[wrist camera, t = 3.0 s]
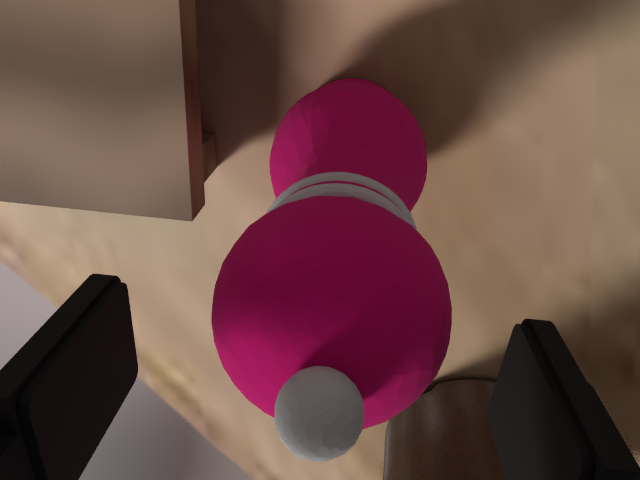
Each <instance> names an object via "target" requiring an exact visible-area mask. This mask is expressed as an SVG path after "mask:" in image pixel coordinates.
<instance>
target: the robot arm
mask: <svg viewBox="0 0 640 480" xmlns="http://www.w3.org/2000/svg"><path fill="white" fill-rule="evenodd" d="M137 373H138V363H137V356H136V348H135V341H134V333H133V326H132V318H131V311H130V304H129V296H128V289H127V285H126V284H125V283H122V282H121V281H120V279H119V277H117V276H112V275H102V274H92V275H90V276H89V277H88V278H87V279H86V280H85V281H84V283H83V284H82V285H81V286H80V287H79V288H78V289H77V290H76V291H75V292H74V293H73V294H72V295H71V296H70V297H69V298H68V299H67V300H66V302H65V303H64V304H63V305H62V306H61V307H60V308H59V309H58V310H57V311H56V312H55V313H54V314H53V315H52V316H51V317H50V318H49V319H48V320H47V322H46V323H45V324H44V325H43V326H42V327H41V328H40V329H39V330H38V331H37V332H36V333H35V334H34V335H33V336H32V337H31V338H30V339H29V341H28V342H27V343H26V344H25V345H24V346H23V347H22V348H21V349H20V350H19V351H18V352H17V353H16V354H15V355H14V356H13V357H12V359H10V361H9V362H8V363H7V364H6V365H5V366H4V367H3V368H2V369H1V370H0V480H78V479H79V477H80V476H81V474H82V472H83V471H84V469H85V467H86V465H87V464H88V462H89V460H90V459H91V457H92V455H93V453H94V452H95V450H96V448H97V446H98V445H99V443H100V441H101V439H102V438H103V436H104V434H105V433H106V431H107V429H108V427H109V426H110V424H111V422H112V420H113V419H114V417H115V415H116V414H117V412H118V410H119V408H120V407H121V405H122V403H123V401H124V399H125V398H126V396H127V395H128V393H129V391H130V389H131V388H132V386H133V384H134V382H135V380H136V377H137ZM488 422H489V426H490V429H491V432H492V436H493V439H494V443H495V446H496V449H497V453H498V456H499V460H500V463H501V466H502V470H503V473H504V477H505V480H640V467H639V466H638V464H637V462H636V461H635V459H634V457H633V455H632V454H631V452H630V450H629V448H628V447H627V445H626V443H625V442H624V440H623V438H622V436H621V435H620V433H619V431H618V430H617V428H616V426H615V424H614V423H613V421H612V419H611V418H610V416H609V414H608V412H607V411H606V409H605V407H604V406H603V404H602V402H601V400H600V399H599V397H598V395H597V393H596V392H595V390H594V389H593V387H592V386H591V385H590V384H589V383H587V381H586V379H585V378H584V376H583V374H582V372H581V371H580V369H579V367H578V365H577V364H576V362H575V360H574V358H573V357H572V355H571V353H570V351H569V350H568V348H567V346H566V345H565V343H564V341H563V339H562V338H561V336H560V334H559V332H558V331H557V329H556V327H555V325H554V324H553V323H552V322H550V321H544V320H534V319H525V320H524V321H523V322H522V324H516V325H515V326H514V328H513V331H512V334H511V337H510V340H509V343H508V346H507V349H506V352H505V355H504V359H503V362H502V365H501V368H500V371H499V374H498V377H497V380H496V383H495V386H494V389H493V392H492V396H491V399H490V402H489V405H488Z"/></svg>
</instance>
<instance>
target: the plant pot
mask: <svg viewBox="0 0 640 480" xmlns="http://www.w3.org/2000/svg"><path fill="white" fill-rule="evenodd" d="M495 383H496V381H490V380H483V379H461V380H452V381H446V382H442V383H438V384H437V385H436V386H435V387H434V388H433V389H432V390H430V391H429V392H426V393H423V394H422V395H421V396H420V397H419V398H418V399H417V400H416V401H415V402H413V403H412V404H411V405H410V406H409V407H408V408H406V409H405V410H403V411H402V412H400V413H399V414H397V415H395V416H394V417H392V418H391V419H390V420H389V423H388V426H387V429H386V436H385V454H384V473H383V480H505V477H504V473H503V470H502V466H501V463H500V460H499V456H498V453H497V449H496V446H495V443H494V439H493V436H492V432H491V429H490V426H489V422H488V405H489V402H490V399H491V396H492V392H493V389H494V386H495Z"/></svg>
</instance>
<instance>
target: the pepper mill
mask: <svg viewBox="0 0 640 480" xmlns="http://www.w3.org/2000/svg"><path fill="white" fill-rule="evenodd" d="M426 174H427V155H426V145H425V141H424V136H423V133H422V131H421V129H420V126H419V124H418V122H417V120H416V119H415V117H414V116H413V115H412V113H411V112H410V111H409V109H408V108H407V107H406V106H405V105H404V104H403V103H402V102H401V101H400V100H398V99H397V98H396V97H394V96H393V95H392V94H391V93H390V92H389V91H387V90H386V89H385V88H383V87H381V86H380V85H378V84H376V83H373V82H371V81H368V80H363V79H356V78H351V79H340V80H336V81H333V82H330V83H328V84H326V85H324V86H322V87H320V88H319V89H317V90H315V91H313V92H311V93H309V94H307V95H306V96H304V97H303V98H302V99H300V100H299V101H297V102H296V103H295V104H294V105H293V106H292V107H291V108H290V110H289V111H288V112H287V113H286V115H285V116H284V118H283V119H282V121H281V123H280V125H279V127H278V129H277V131H276V134H275V138H274V142H273V145H272V149H271V155H270V176H271V180H272V185H273V189H274V193H275V196H276V200H275V201H274V202H273V204H272V205H271V206H270V208H269V210H268V212H267V214H265V215H264V216H262V217H261V218H260V219H258V220H257V221H255V222H254V223H252V224H251V225H250V226H249V227H248V228H247V229H246V230H245V232H244V233H243V234H242V235H241V237H240V238H239V239H238V240H237V241H236V243H235V244H234V246H233V247H232V249H231V250H230V252H229V254H228V255H227V257H226V258H225V260H224V262H223V264H222V267H221V270H220V273H219V275H218V278H217V281H216V284H215V289H214V296H213V305H212V329H213V336H214V342H215V345H216V348H217V351H218V354H219V357H220V360H221V362H222V365H223V367H224V369H225V370H226V372H227V374H228V375H229V377H230V378H231V380H232V382H233V383H234V385H235V386H236V387H237V388H238V389H239V390H240V391H241V393H242V394H243V395H244V396H245V397H246V398H247V399H248V400H249V401H250V402H251V403H253V404H254V405H255V406H257V407H258V408H259V409H261V410H262V411H263V412H265V413H266V414H268V415H270V416H272V417H274V418H275V425H276V428H277V431H278V434H279V437H280V439H281V440H282V441H283V443H284V444H285V445H286V446H287V448H288V449H289V450H290V451H291V452H293V453H294V454H295V455H297V456H298V457H300V458H303V459H306V460H310V461H317V462H324V461H327V460H330V459H333V458H336V457H339V456H341V455H343V454H345V453H346V452H347V451H348V450H350V448H351V447H352V446H353V445H354V444H355V443H356V441H357V439H358V437H359V435H360V433H361V431H362V429H365V428H368V427H371V426H374V425H377V424H380V423H383V422H386V421H387V420H389V419H391V418H392V417H394V416H395V415H397V414H399V413H400V412H402V411H403V410H405V409H406V408H408V407H409V406H410V405H411V404H412V403H413V402H415V401H416V400H417V399H418V398H419V397H420V396H421V395H422V393H423V392H424V391H425V390H426V388H427V387H428V386H429V384H430V383H431V382H432V380H433V379H434V378H435V377H436V375H437V373H438V371H439V369H440V367H441V365H442V362H443V360H444V358H445V356H446V352H447V349H448V345H449V340H450V332H451V324H452V307H451V300H450V294H449V288H448V283H447V280H446V278H445V275H444V273H443V270H442V267H441V265H440V262H439V260H438V258H437V256H436V255H435V253H434V251H433V249H432V248H431V246H430V245H429V244H428V243H427V241H426V240H425V239H424V238H423V237H422V236H421V235H420V234H419V232H418V231H417V230H416V226H415V222H414V220H413V218H412V215H411V213H410V211H411V210H412V208H413V207H414V205H415V204H416V202H417V201H418V199H419V196H420V194H421V192H422V190H423V187H424V183H425V180H426Z"/></svg>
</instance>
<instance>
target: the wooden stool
mask: <svg viewBox="0 0 640 480" xmlns="http://www.w3.org/2000/svg"><path fill="white" fill-rule="evenodd" d="M216 168H217V158H216V133H209V132H202V129H201V107H200V86H199V64H198V42H197V21H196V0H0V201H4V202H14V203H23V204H33V205H42V206H52V207H61V208H70V209H80V210H89V211H99V212H108V213H118V214H127V215H137V216H146V217H156V218H165V219H175V220H184V221H193V220H194V218H195V217H196V216H197V214H198V213H199V212H200V210H201V209H202V208H203V206H204V205H205V194H204V182H205V181H206V180H207V179H208V177H209V176H210V175H211V174H212V172H213V171H214V170H215V169H216Z"/></svg>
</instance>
